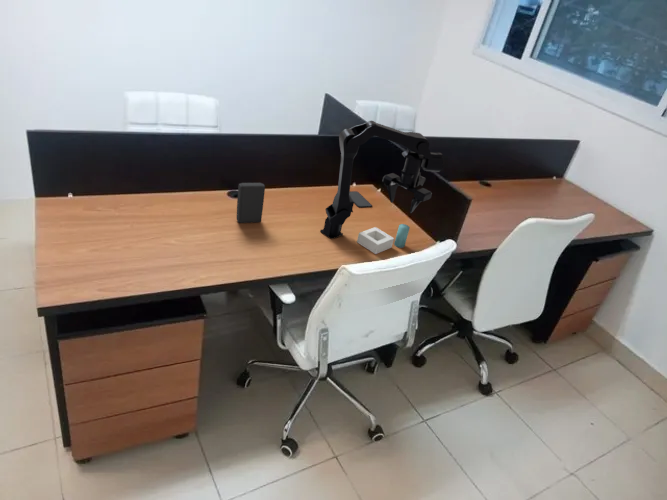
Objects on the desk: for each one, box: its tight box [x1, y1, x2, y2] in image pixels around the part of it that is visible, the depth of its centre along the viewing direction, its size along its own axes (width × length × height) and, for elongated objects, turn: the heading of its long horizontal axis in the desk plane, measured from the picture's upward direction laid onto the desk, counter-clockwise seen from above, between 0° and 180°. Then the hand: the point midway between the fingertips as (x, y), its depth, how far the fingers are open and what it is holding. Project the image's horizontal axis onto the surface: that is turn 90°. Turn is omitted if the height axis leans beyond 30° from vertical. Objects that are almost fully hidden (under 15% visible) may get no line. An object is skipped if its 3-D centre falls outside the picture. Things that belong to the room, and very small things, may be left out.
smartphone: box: [349, 190, 373, 209], centre depth 210 cm, size 7×1×15 cm
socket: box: [356, 226, 395, 255], centre depth 178 cm, size 9×9×4 cm
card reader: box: [236, 182, 266, 224], centre depth 174 cm, size 9×4×15 cm, turn 113°
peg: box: [393, 223, 410, 249], centre depth 180 cm, size 4×4×8 cm
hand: (401, 207), depth 180 cm, fingers open, 9 cm apart
